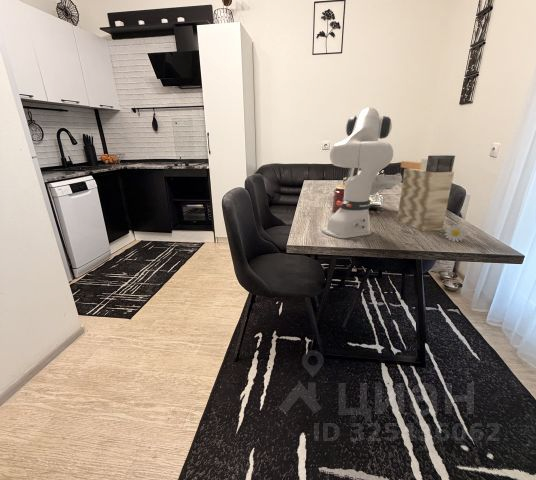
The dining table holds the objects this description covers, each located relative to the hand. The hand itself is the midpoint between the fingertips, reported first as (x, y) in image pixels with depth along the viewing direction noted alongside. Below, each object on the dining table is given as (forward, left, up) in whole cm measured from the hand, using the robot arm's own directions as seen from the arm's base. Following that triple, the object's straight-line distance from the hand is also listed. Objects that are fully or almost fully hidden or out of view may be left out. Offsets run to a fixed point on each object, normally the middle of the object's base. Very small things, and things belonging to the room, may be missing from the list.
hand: (391, 174), depth 154 cm
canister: (-19, +15, -22) cm, 33 cm away
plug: (-7, -20, +5) cm, 21 cm away
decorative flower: (-16, -41, -22) cm, 50 cm away
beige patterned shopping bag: (-9, -25, -21) cm, 34 cm away
